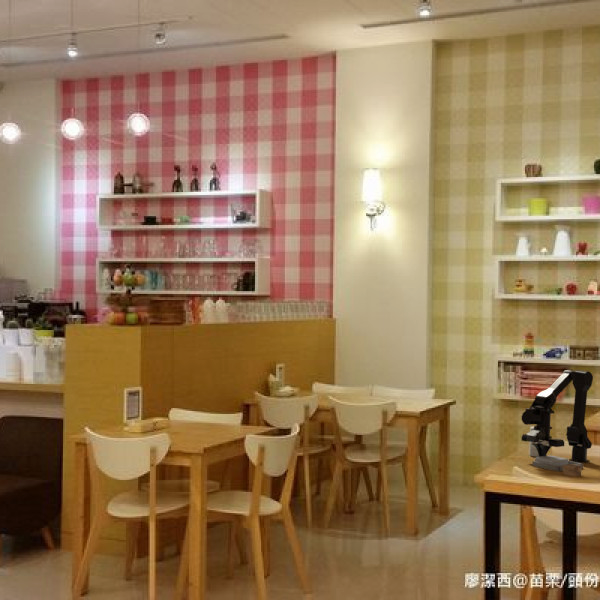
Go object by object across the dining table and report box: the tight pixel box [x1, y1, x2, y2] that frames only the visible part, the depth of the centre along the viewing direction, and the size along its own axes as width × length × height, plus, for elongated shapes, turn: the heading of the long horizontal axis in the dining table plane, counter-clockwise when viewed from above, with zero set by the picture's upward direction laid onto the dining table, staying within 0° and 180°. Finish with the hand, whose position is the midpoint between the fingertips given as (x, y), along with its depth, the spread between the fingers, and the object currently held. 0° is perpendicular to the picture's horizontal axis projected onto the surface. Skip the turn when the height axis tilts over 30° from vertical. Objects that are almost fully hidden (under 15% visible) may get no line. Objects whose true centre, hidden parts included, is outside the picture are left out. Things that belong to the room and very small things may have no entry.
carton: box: [534, 454, 569, 466], centre depth 382 cm, size 10×9×4 cm
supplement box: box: [528, 426, 539, 457], centre depth 410 cm, size 7×7×13 cm
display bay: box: [531, 460, 584, 473], centre depth 381 cm, size 16×13×2 cm
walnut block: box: [562, 464, 582, 477], centre depth 364 cm, size 5×5×4 cm
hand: (541, 460), depth 387 cm, fingers closed
